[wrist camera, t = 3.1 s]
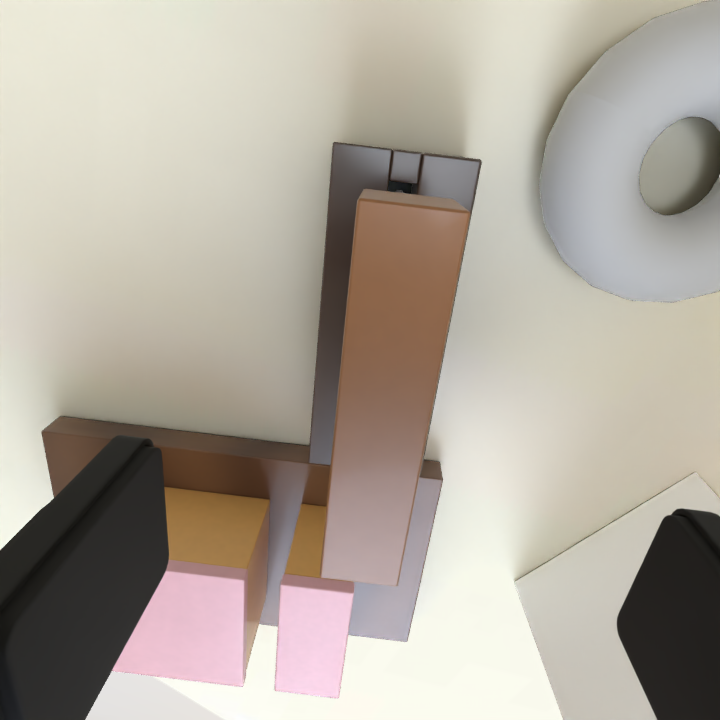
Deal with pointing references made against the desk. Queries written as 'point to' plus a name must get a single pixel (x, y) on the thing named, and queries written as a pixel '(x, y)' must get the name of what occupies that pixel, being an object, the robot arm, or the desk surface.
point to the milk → (599, 608)
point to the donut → (636, 162)
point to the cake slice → (311, 615)
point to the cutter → (388, 376)
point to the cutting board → (266, 481)
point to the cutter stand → (347, 182)
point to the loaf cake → (205, 591)
